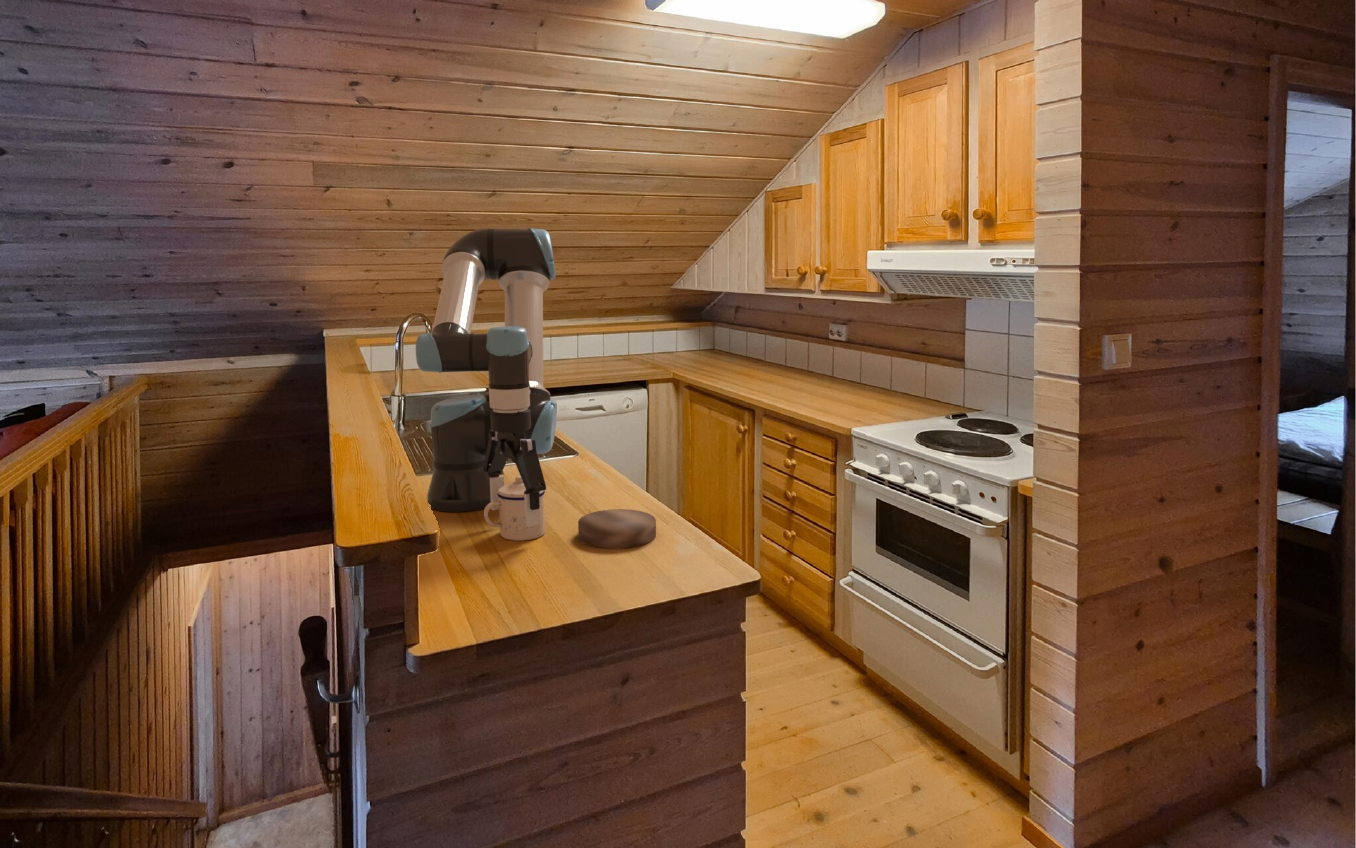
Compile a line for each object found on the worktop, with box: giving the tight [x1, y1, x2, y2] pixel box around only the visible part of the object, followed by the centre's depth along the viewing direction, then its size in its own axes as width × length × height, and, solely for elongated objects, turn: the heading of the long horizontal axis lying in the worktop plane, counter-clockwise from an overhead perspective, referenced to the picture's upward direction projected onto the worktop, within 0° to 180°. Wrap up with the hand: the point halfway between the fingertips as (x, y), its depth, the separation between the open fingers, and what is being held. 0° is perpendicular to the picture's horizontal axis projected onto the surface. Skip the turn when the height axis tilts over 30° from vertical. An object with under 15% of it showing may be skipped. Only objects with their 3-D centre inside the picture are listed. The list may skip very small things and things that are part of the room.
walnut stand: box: [577, 508, 657, 550], centre depth 165 cm, size 15×15×3 cm
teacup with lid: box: [483, 475, 546, 542], centre depth 164 cm, size 12×9×12 cm
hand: (515, 516), depth 165 cm, fingers open, 13 cm apart
